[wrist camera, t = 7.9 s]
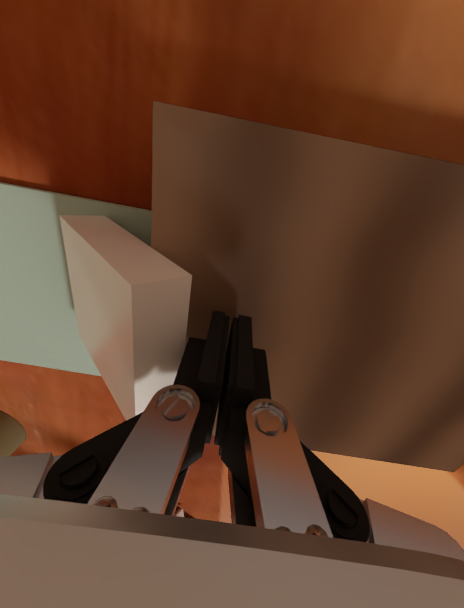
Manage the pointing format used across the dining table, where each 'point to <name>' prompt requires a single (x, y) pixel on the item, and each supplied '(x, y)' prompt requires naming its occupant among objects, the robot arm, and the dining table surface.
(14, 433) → the cork
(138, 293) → the tile
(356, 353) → the board
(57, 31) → the dining table surface
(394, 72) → the dining table surface
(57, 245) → the mat
